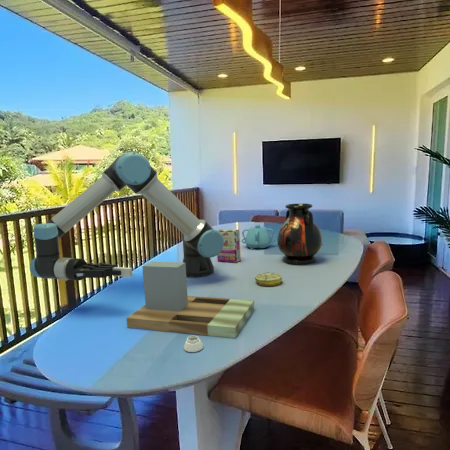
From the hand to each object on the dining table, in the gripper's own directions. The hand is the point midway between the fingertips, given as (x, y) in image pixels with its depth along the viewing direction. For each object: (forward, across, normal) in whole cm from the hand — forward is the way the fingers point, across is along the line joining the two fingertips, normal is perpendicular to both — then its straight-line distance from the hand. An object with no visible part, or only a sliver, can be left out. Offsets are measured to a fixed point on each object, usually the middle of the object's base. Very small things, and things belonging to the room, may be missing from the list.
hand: (131, 272), depth 121 cm
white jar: (+29, +18, -14) cm, 37 cm away
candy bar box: (+10, -73, -13) cm, 75 cm away
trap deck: (+21, 0, -14) cm, 25 cm away
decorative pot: (+17, -109, -13) cm, 111 cm away
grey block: (+12, 0, -11) cm, 16 cm away
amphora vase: (+45, -78, -13) cm, 91 cm away
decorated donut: (+37, -40, -14) cm, 57 cm away
